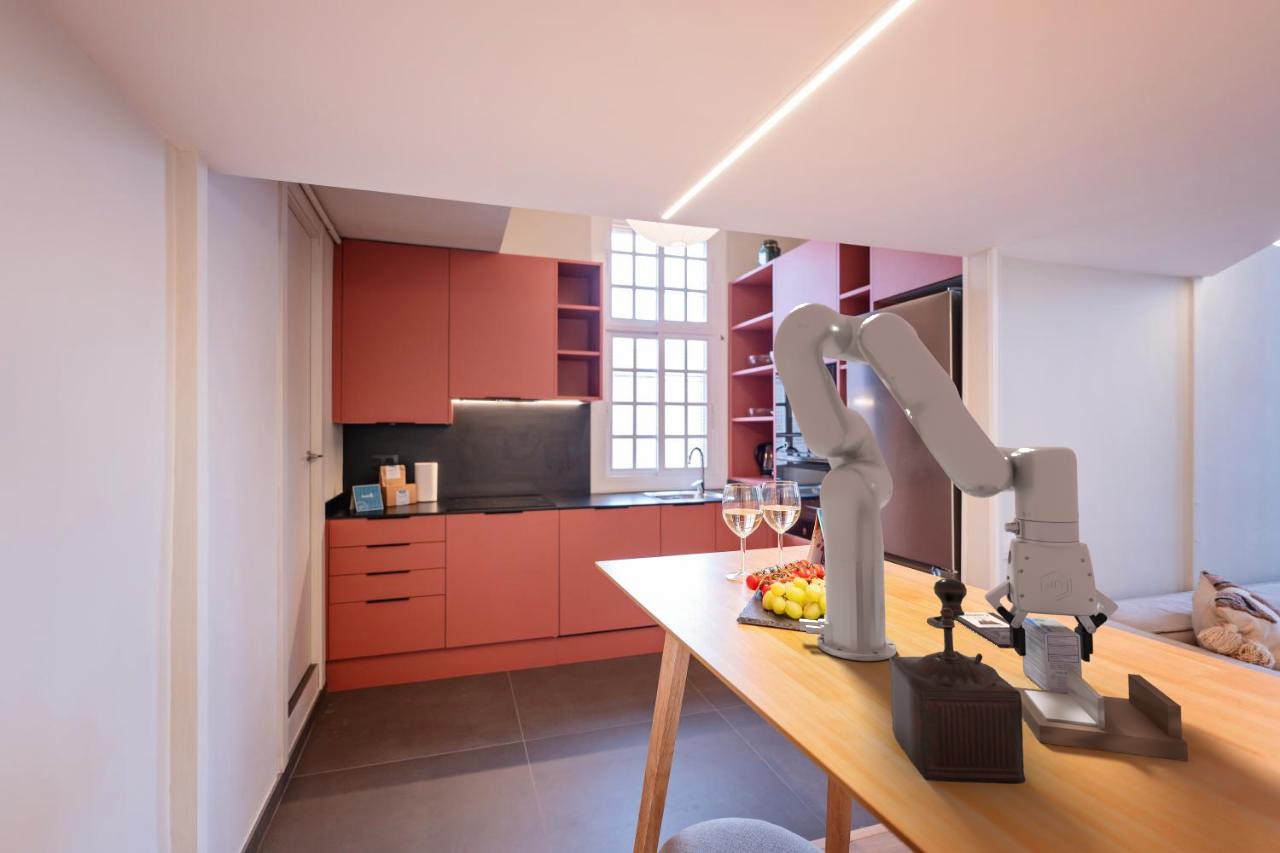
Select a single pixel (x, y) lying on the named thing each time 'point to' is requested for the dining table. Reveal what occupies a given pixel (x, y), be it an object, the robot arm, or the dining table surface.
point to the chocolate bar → (988, 627)
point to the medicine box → (1050, 653)
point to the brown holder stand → (1107, 718)
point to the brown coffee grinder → (956, 708)
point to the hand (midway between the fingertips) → (1050, 654)
